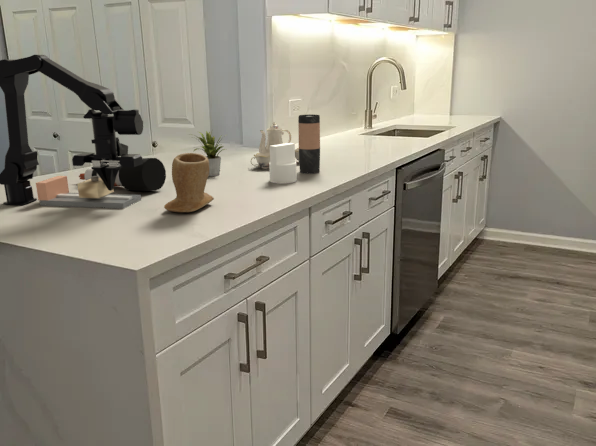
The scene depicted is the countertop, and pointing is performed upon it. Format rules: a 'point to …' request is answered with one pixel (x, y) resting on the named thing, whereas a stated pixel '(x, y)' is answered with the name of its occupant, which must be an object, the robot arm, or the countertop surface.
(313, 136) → the travel mug
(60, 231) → the countertop surface
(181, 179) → the stone cup
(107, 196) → the track
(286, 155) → the base with upright slab
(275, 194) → the countertop surface
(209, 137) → the house plant
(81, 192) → the block
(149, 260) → the countertop surface
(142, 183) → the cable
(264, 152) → the chinaware
